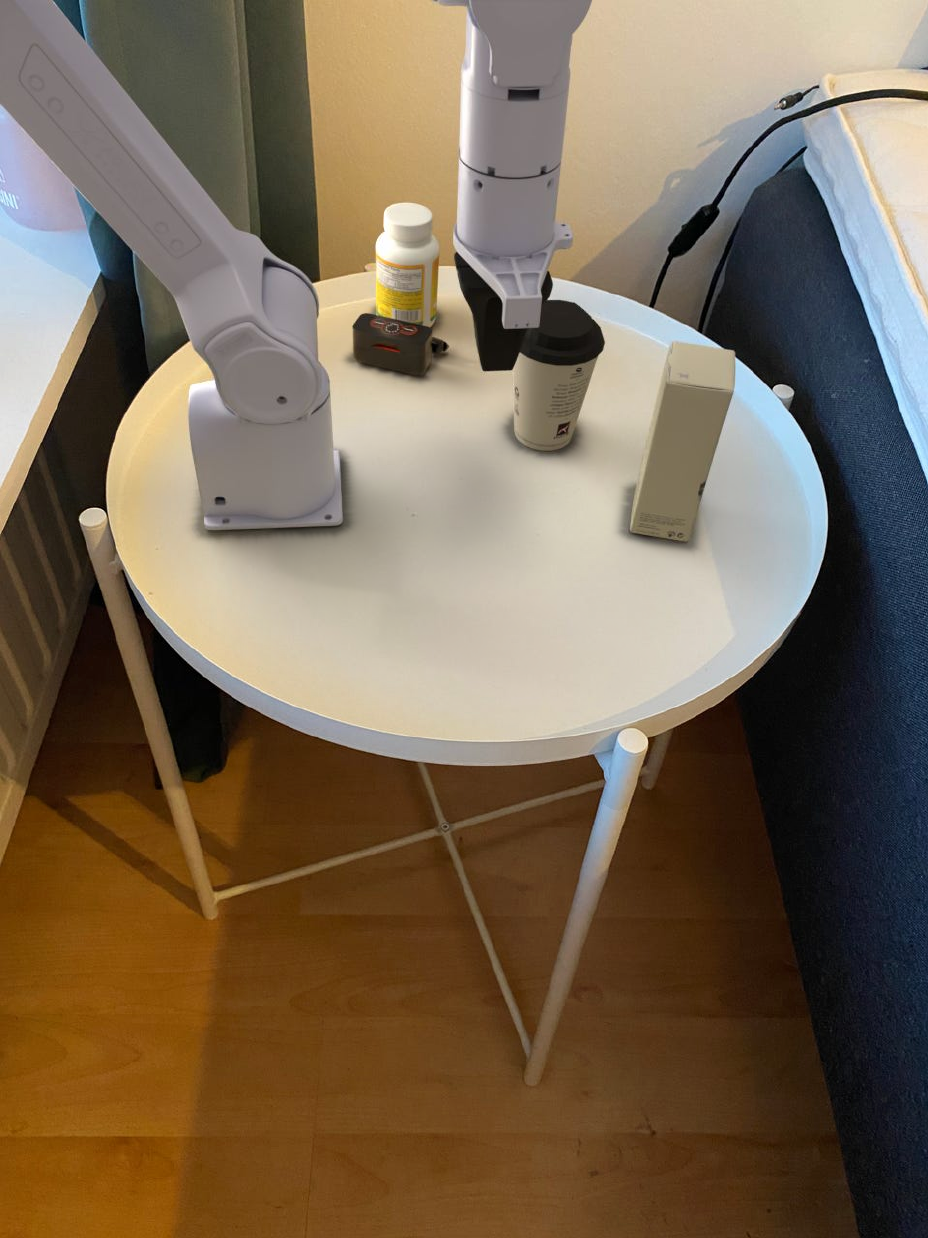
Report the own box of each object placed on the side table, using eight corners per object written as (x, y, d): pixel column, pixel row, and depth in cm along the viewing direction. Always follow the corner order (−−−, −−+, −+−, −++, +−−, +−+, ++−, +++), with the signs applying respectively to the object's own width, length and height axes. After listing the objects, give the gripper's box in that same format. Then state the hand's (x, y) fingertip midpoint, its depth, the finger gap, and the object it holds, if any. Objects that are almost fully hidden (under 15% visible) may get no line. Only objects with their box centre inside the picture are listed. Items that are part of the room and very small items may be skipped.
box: (688, 545, 69) (736, 394, 59) (627, 534, 69) (665, 382, 60) (692, 497, 72) (738, 347, 63) (633, 487, 73) (670, 336, 63)
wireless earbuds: (432, 381, 80) (433, 347, 78) (351, 363, 81) (349, 328, 79) (449, 352, 83) (451, 318, 81) (371, 334, 84) (370, 300, 82)
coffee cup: (587, 464, 74) (609, 351, 67) (496, 456, 74) (508, 342, 67) (586, 409, 79) (607, 297, 71) (501, 401, 79) (512, 289, 71)
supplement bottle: (402, 342, 84) (403, 236, 76) (363, 315, 86) (361, 210, 79) (449, 321, 86) (454, 216, 79) (409, 295, 89) (411, 192, 81)
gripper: (608, 216, 50) (576, 430, 60) (557, 101, 59) (538, 303, 69) (471, 220, 49) (463, 435, 59) (442, 103, 58) (439, 306, 69)
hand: (496, 364), depth 64 cm, fingers closed
